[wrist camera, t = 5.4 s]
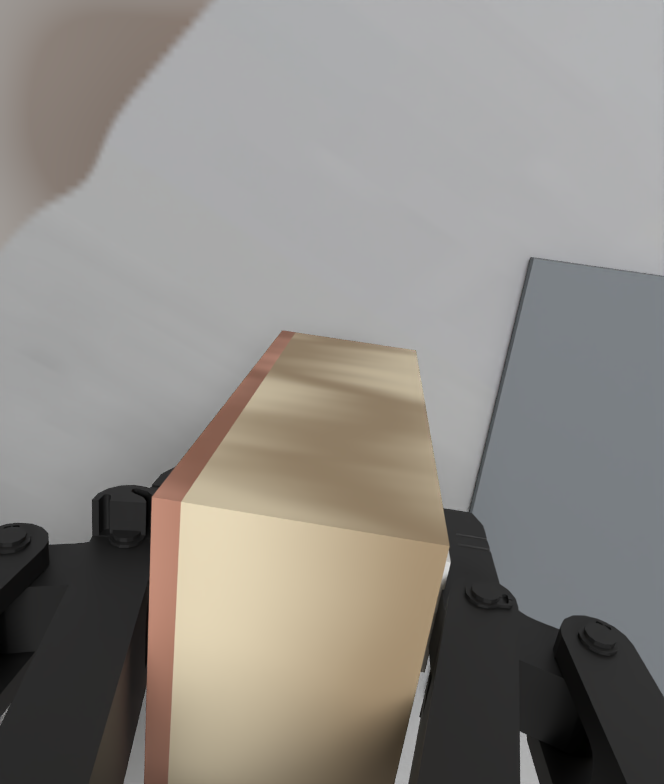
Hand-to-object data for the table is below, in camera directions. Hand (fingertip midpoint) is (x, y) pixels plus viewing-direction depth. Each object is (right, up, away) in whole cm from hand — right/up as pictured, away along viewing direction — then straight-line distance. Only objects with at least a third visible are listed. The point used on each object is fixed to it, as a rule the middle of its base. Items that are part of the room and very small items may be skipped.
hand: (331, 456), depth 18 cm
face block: (0, 0, +1) cm, 1 cm away
